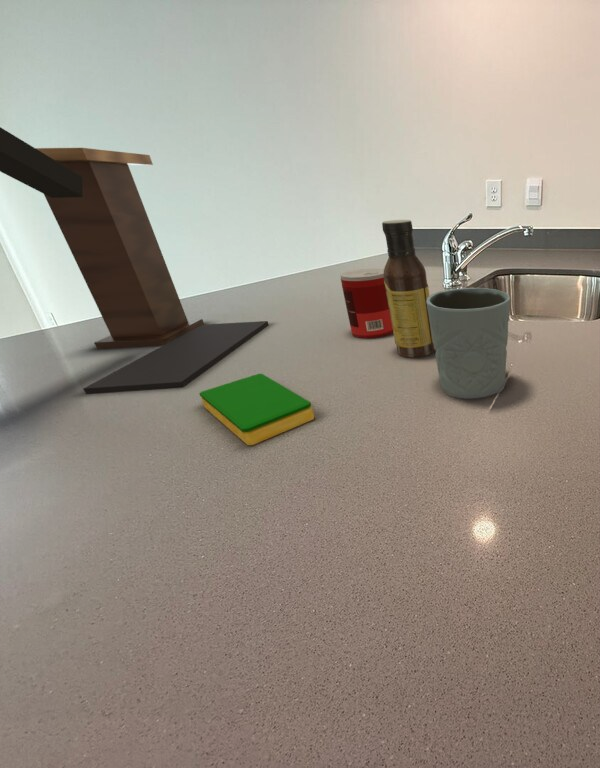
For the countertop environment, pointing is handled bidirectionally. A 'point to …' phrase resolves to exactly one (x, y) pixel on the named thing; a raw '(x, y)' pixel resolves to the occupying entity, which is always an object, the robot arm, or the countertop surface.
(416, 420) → the countertop surface
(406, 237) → the sauce bottle
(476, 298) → the grey cup
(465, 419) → the countertop surface
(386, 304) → the canned food
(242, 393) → the dish sponge
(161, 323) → the stand
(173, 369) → the black base pad
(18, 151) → the long black bar
